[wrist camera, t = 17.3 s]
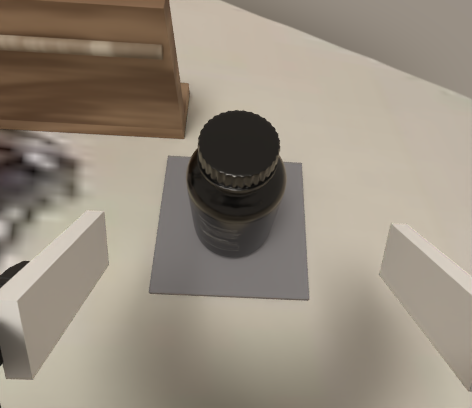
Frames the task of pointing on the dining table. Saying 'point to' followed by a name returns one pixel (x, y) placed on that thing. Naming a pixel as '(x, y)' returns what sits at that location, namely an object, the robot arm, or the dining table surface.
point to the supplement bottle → (235, 183)
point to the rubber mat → (223, 268)
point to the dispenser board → (91, 68)
